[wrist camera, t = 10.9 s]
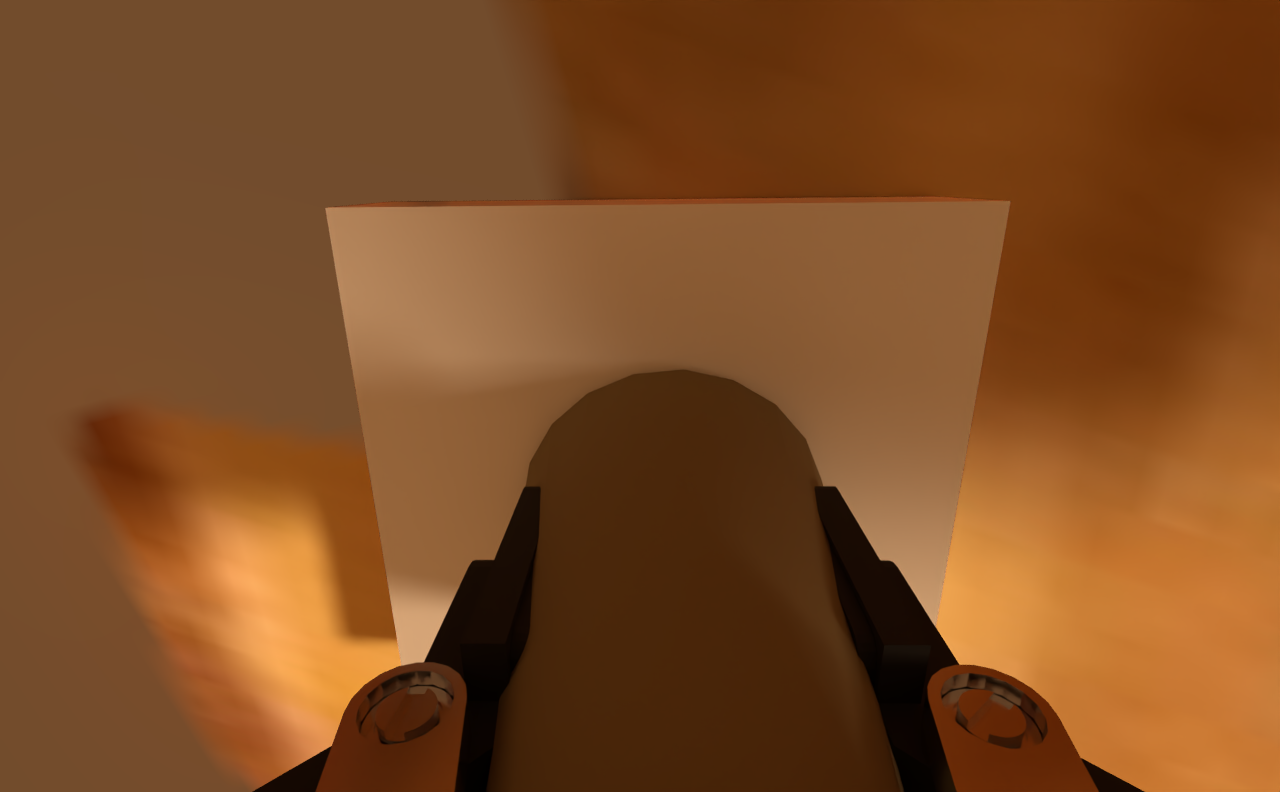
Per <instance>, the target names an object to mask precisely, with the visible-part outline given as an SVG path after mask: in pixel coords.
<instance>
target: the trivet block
mask: <svg viewBox="0 0 1280 792" xmlns="http://www.w3.org/2000/svg"><path fill="white" fill-rule="evenodd" d="M1010 202H1011V201H1001V200H985V199H969V198H953V197H937V196H927V197H823V198H719V199H615V200H511V201H407V202H382V203H371V204H360V205H349V206H338V207H327V208H325V210H326V216H327V222H328V228H329V234H330V240H331V246H332V252H333V258H334V264H335V270H336V276H337V282H338V288H339V294H340V300H341V306H342V312H343V318H344V324H345V330H346V336H347V342H348V348H349V353H350V359H351V366H352V372H353V378H354V384H355V390H356V396H357V402H358V408H359V414H360V420H361V426H362V432H363V438H364V444H365V450H366V456H367V462H368V468H369V474H370V480H371V486H372V492H373V498H374V504H375V510H376V516H377V522H378V528H379V534H380V540H381V546H382V552H383V558H384V564H385V570H386V576H387V582H388V588H389V594H390V600H391V606H392V612H393V618H394V624H395V630H396V636H397V642H398V648H399V654H400V660H401V666H403V665H407V664H412V663H416V662H424V661H425V659H426V656H427V654H428V652H429V650H430V648H431V646H432V644H433V641H434V639H435V637H436V635H437V633H438V631H439V629H440V627H441V624H442V622H443V620H444V618H445V616H446V614H447V612H448V609H449V607H450V605H451V603H452V601H453V599H454V597H455V594H456V592H457V590H458V588H459V586H460V584H461V582H462V580H463V577H464V575H465V573H466V571H467V569H468V567H469V565H470V564H471V562H472V561H474V560H494V559H495V556H496V554H497V551H498V549H499V546H500V544H501V542H502V539H503V537H504V534H505V532H506V529H507V527H508V525H509V522H510V520H511V517H512V515H513V512H514V510H515V507H516V505H517V503H518V500H519V498H520V495H521V493H522V490H523V488H524V487H525V486H526V481H527V475H528V469H529V463H530V461H531V459H532V458H533V456H534V454H535V452H536V451H537V449H538V447H539V445H540V444H541V442H542V440H543V439H544V437H545V435H546V433H547V432H548V430H549V428H550V426H551V425H552V423H554V422H555V421H556V420H557V419H558V418H559V417H561V416H562V415H563V414H564V413H565V412H566V411H568V410H569V409H570V408H571V407H572V406H573V405H575V404H576V403H577V402H578V401H579V400H580V399H581V398H583V397H584V396H585V395H586V394H587V393H589V392H592V391H594V390H596V389H599V388H601V387H604V386H606V385H608V384H611V383H613V382H616V381H618V380H620V379H623V378H625V377H628V376H630V375H632V374H640V373H651V372H661V371H672V370H683V369H684V370H689V371H694V372H699V373H703V374H708V375H713V376H717V377H722V378H727V379H731V380H734V381H736V382H738V383H740V384H741V385H743V386H745V387H747V388H748V389H750V390H752V391H754V392H755V393H757V394H759V395H761V396H762V397H764V398H766V399H767V400H769V401H771V402H773V403H774V404H776V405H777V406H778V408H779V409H780V410H781V411H782V412H783V413H784V414H785V416H786V417H787V418H788V419H789V420H790V421H791V422H792V424H793V425H794V426H795V427H796V428H797V429H798V430H799V432H800V433H801V434H802V435H803V436H804V437H805V438H806V441H807V443H808V446H809V448H810V451H811V454H812V456H813V459H814V461H815V464H816V467H817V469H818V472H819V474H820V477H821V480H822V483H823V486H836V487H837V489H838V490H839V492H840V493H841V495H842V497H843V499H844V500H845V502H846V504H847V505H848V507H849V509H850V510H851V512H852V514H853V515H854V517H855V519H856V520H857V522H858V524H859V525H860V527H861V529H862V530H863V532H864V534H865V535H866V537H867V539H868V540H869V542H870V544H871V546H872V547H873V549H874V551H875V552H876V554H877V556H878V557H879V559H880V560H889V561H892V562H894V563H895V565H896V566H897V567H898V568H899V570H900V571H901V573H902V575H903V576H904V578H905V579H906V581H907V583H908V584H909V586H910V587H911V589H912V590H913V592H914V594H915V595H916V597H917V598H918V600H919V602H920V603H921V605H922V606H923V608H924V610H925V611H926V613H927V614H928V616H929V617H930V619H931V621H932V622H933V624H934V625H935V627H936V623H937V618H938V612H939V606H940V600H941V595H942V589H943V583H944V578H945V572H946V566H947V561H948V555H949V549H950V544H951V538H952V532H953V527H954V521H955V515H956V509H957V504H958V498H959V492H960V487H961V481H962V475H963V470H964V464H965V458H966V453H967V447H968V441H969V436H970V430H971V424H972V418H973V413H974V407H975V401H976V396H977V390H978V384H979V379H980V373H981V367H982V362H983V356H984V350H985V345H986V339H987V333H988V327H989V322H990V316H991V310H992V305H993V299H994V293H995V288H996V282H997V276H998V271H999V265H1000V259H1001V254H1002V248H1003V242H1004V236H1005V231H1006V225H1007V219H1008V214H1009V208H1010Z"/></svg>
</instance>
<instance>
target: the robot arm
mask: <svg viewBox="0 0 1280 792" xmlns="http://www.w3.org/2000/svg"><path fill="white" fill-rule="evenodd" d="M814 490H815V496H816V502H817V508H818V513H819V516H820V519H821V522H822V525H823V527H824V530H825V533H826V536H827V538H828V541H829V546H830V552H831V557H832V563H833V569H834V574H835V580H836V586H837V591H838V596H839V599H840V603H841V606H842V609H843V612H844V615H845V618H846V621H847V624H848V627H849V630H850V633H851V636H852V639H853V642H854V645H855V648H856V651H857V654H858V656H859V658H860V659H861V660H862V661H863V663H864V665H865V667H866V670H867V672H868V675H869V677H870V680H871V682H872V685H873V687H874V691H875V694H876V698H877V700H878V703H879V706H880V710H881V714H882V718H883V722H884V725H885V729H886V732H887V736H888V739H889V742H890V746H891V749H892V753H893V755H894V758H895V761H896V764H897V766H898V770H899V773H900V777H901V781H902V785H903V788H904V792H1144V791H1142V790H1140V789H1138V788H1136V787H1135V786H1133V785H1131V784H1129V783H1127V782H1125V781H1123V780H1121V779H1120V778H1118V777H1116V776H1114V775H1112V774H1110V773H1108V772H1106V771H1104V770H1103V769H1101V768H1099V767H1097V766H1095V765H1093V764H1091V763H1089V762H1088V761H1086V760H1084V759H1082V758H1080V756H1079V754H1078V752H1077V750H1076V748H1075V746H1074V745H1073V743H1072V741H1071V739H1070V737H1069V735H1068V733H1067V732H1066V730H1065V728H1064V726H1063V724H1062V722H1061V720H1060V719H1059V717H1058V715H1057V714H1056V713H1055V711H1054V710H1053V709H1052V707H1051V706H1050V705H1049V703H1048V702H1047V701H1046V700H1045V699H1044V698H1042V697H1041V696H1040V695H1039V694H1038V693H1037V692H1036V691H1034V690H1033V689H1032V688H1031V687H1029V686H1027V685H1026V684H1024V683H1022V682H1021V681H1019V680H1017V679H1016V678H1014V677H1012V676H1009V675H1007V674H1004V673H1002V672H999V671H997V670H994V669H990V668H986V667H981V666H976V665H959V663H958V662H957V660H956V659H955V657H954V656H953V654H952V652H951V651H950V649H949V648H948V646H947V644H946V643H945V641H944V640H943V638H942V637H941V635H940V633H939V632H938V630H937V629H936V627H935V625H934V624H933V622H932V621H931V619H930V617H929V616H928V614H927V613H926V611H925V610H924V608H923V606H922V605H921V603H920V602H919V600H918V598H917V597H916V595H915V594H914V592H913V590H912V589H911V587H910V586H909V584H908V583H907V581H906V579H905V578H904V576H903V575H902V573H901V571H900V570H899V568H898V567H897V566H896V565H895V563H894V562H892V561H889V560H880V559H879V557H878V556H877V554H876V552H875V551H874V549H873V547H872V546H871V544H870V542H869V540H868V539H867V537H866V535H865V534H864V532H863V530H862V529H861V527H860V525H859V524H858V522H857V520H856V519H855V517H854V515H853V514H852V512H851V510H850V509H849V507H848V505H847V504H846V502H845V500H844V499H843V497H842V495H841V493H840V492H839V490H838V489H837V487H836V486H815V488H814ZM540 495H541V488H540V487H539V486H526V487H524V488H523V490H522V493H521V495H520V498H519V500H518V503H517V505H516V507H515V510H514V512H513V515H512V517H511V520H510V522H509V525H508V527H507V529H506V532H505V534H504V537H503V539H502V542H501V544H500V546H499V549H498V551H497V554H496V556H495V559H494V560H474V561H472V562H471V564H470V565H469V567H468V569H467V571H466V573H465V575H464V577H463V580H462V582H461V584H460V586H459V588H458V590H457V592H456V594H455V597H454V599H453V601H452V603H451V605H450V607H449V609H448V612H447V614H446V616H445V618H444V620H443V622H442V624H441V627H440V629H439V631H438V633H437V635H436V637H435V639H434V641H433V644H432V646H431V648H430V650H429V652H428V654H427V656H426V659H425V661H424V662H416V663H412V664H407V665H403V666H398V667H396V668H394V669H391V670H389V671H387V672H384V673H382V674H380V675H379V676H377V677H376V678H374V679H373V680H371V681H370V682H368V683H367V684H365V685H364V686H363V687H362V688H361V689H360V690H359V691H358V692H357V693H356V694H355V695H354V696H353V698H352V699H351V701H350V703H349V704H348V706H347V708H346V710H345V712H344V714H343V716H342V719H341V722H340V725H339V728H338V730H337V733H336V736H335V739H334V742H333V744H332V746H331V747H329V748H327V749H326V750H324V751H322V752H320V753H319V754H317V755H315V756H314V757H312V758H310V759H308V760H307V761H305V762H303V763H301V764H300V765H298V766H296V767H295V768H293V769H291V770H289V771H288V772H286V773H284V774H282V775H281V776H279V777H277V778H275V779H274V780H272V781H270V782H269V783H267V784H265V785H263V786H262V787H260V788H258V789H256V790H255V791H253V792H486V787H487V781H488V775H489V770H490V764H491V758H492V752H493V746H494V738H495V730H496V722H497V714H498V706H499V699H500V696H501V695H502V693H503V692H504V690H505V689H506V687H507V686H508V684H509V681H510V676H511V672H512V671H513V669H514V668H515V666H516V664H517V662H518V661H519V659H520V657H521V655H522V653H523V650H524V648H525V645H526V642H527V639H528V635H529V630H530V617H531V597H532V578H533V561H534V558H535V553H536V548H537V543H538V538H539V521H540Z"/></svg>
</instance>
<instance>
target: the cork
mask: <svg viewBox="0 0 1280 792" xmlns="http://www.w3.org/2000/svg"><path fill="white" fill-rule="evenodd" d="M526 486H539V487H540V488H541V495H540V521H539V538H538V543H537V548H536V553H535V558H534V561H533V578H532V597H531V617H530V630H529V635H528V639H527V642H526V645H525V648H524V650H523V653H522V655H521V657H520V659H519V661H518V662H517V664H516V666H515V668H514V669H513V671H512V672H511V676H510V681H509V684H508V686H507V687H506V689H505V690H504V692H503V693H502V695H501V696H500V699H499V706H498V714H497V722H496V730H495V738H494V746H493V752H492V758H491V764H490V770H489V775H488V781H487V787H486V792H904V788H903V785H902V781H901V777H900V773H899V770H898V766H897V764H896V761H895V758H894V755H893V753H892V749H891V746H890V742H889V739H888V736H887V732H886V729H885V725H884V722H883V718H882V714H881V710H880V706H879V703H878V700H877V698H876V694H875V691H874V687H873V685H872V682H871V680H870V677H869V675H868V672H867V670H866V667H865V665H864V663H863V661H862V660H861V659H860V658H859V656H858V654H857V651H856V648H855V645H854V642H853V639H852V636H851V633H850V630H849V627H848V624H847V621H846V618H845V615H844V612H843V609H842V606H841V603H840V599H839V596H838V591H837V586H836V580H835V574H834V569H833V563H832V557H831V552H830V546H829V541H828V538H827V536H826V533H825V530H824V527H823V525H822V522H821V519H820V516H819V513H818V508H817V502H816V496H815V490H814V488H815V486H823V483H822V480H821V477H820V474H819V472H818V469H817V467H816V464H815V461H814V459H813V456H812V454H811V451H810V448H809V446H808V443H807V441H806V438H805V437H804V436H803V435H802V434H801V433H800V432H799V430H798V429H797V428H796V427H795V426H794V425H793V424H792V422H791V421H790V420H789V419H788V418H787V417H786V416H785V414H784V413H783V412H782V411H781V410H780V409H779V408H778V406H777V405H776V404H774V403H773V402H771V401H769V400H767V399H766V398H764V397H762V396H761V395H759V394H757V393H755V392H754V391H752V390H750V389H748V388H747V387H745V386H743V385H741V384H740V383H738V382H736V381H734V380H731V379H727V378H722V377H717V376H713V375H708V374H703V373H699V372H694V371H689V370H684V369H683V370H672V371H661V372H651V373H640V374H632V375H630V376H628V377H625V378H623V379H620V380H618V381H616V382H613V383H611V384H608V385H606V386H604V387H601V388H599V389H596V390H594V391H592V392H589V393H587V394H586V395H585V396H584V397H583V398H581V399H580V400H579V401H578V402H577V403H576V404H575V405H573V406H572V407H571V408H570V409H569V410H568V411H566V412H565V413H564V414H563V415H562V416H561V417H559V418H558V419H557V420H556V421H555V422H554V423H552V425H551V426H550V428H549V430H548V432H547V433H546V435H545V437H544V439H543V440H542V442H541V444H540V445H539V447H538V449H537V451H536V452H535V454H534V456H533V458H532V459H531V461H530V463H529V469H528V475H527V481H526ZM526 486H525V487H526Z"/></svg>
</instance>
